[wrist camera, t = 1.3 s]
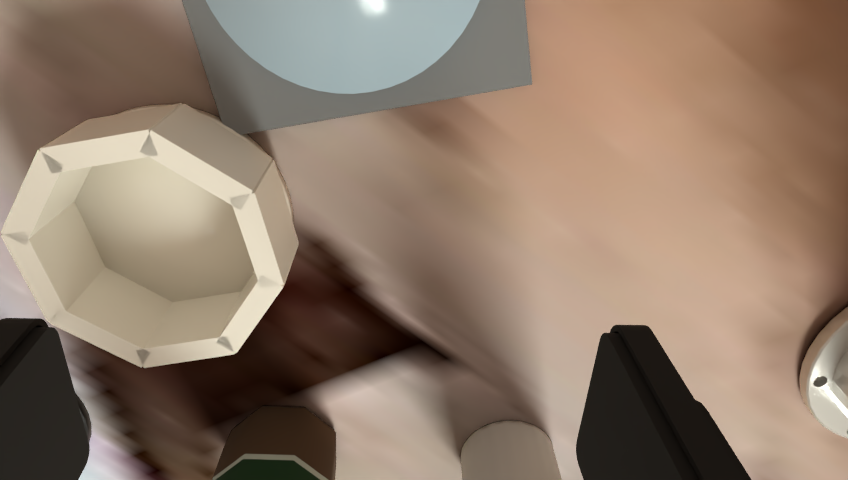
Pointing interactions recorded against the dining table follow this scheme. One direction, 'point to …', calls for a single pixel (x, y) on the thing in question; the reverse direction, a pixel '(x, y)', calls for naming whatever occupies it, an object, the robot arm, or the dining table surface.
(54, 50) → the dining table surface
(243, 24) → the lid
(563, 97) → the dining table surface
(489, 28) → the mat
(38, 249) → the bowl
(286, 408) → the beer bottle
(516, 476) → the bottle
